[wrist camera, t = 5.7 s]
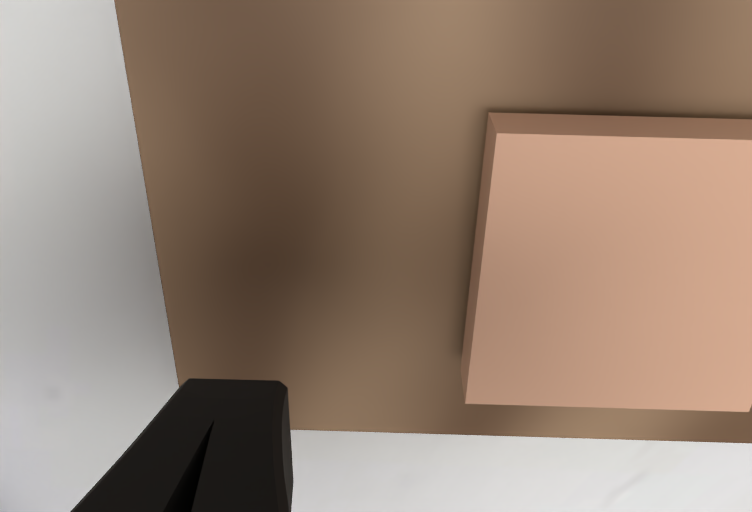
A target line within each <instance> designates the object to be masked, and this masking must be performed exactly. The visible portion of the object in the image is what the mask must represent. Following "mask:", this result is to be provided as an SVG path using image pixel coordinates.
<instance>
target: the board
mask: <svg viewBox="0 0 752 512" xmlns="http://www.w3.org/2000/svg"><path fill="white" fill-rule="evenodd" d="M114 1H115V7H116V13H117V19H118V25H119V31H120V37H121V43H122V49H123V55H124V61H125V67H126V73H127V79H128V85H129V91H130V97H131V103H132V109H133V115H134V121H135V127H136V133H137V139H138V145H139V151H140V157H141V163H142V169H143V175H144V181H145V187H146V193H147V199H148V205H149V211H150V217H151V223H152V229H153V235H154V241H155V247H156V253H157V258H158V264H159V270H160V276H161V282H162V288H163V294H164V300H165V306H166V312H167V318H168V324H169V330H170V336H171V342H172V348H173V354H174V360H175V366H176V372H177V378H178V384H179V387H180V386H181V385H182V384H183V383H184V382H185V381H187V380H188V379H189V378H199V379H238V380H276V381H280V382H282V383H283V384H284V385H285V386H286V387H287V388H288V401H289V418H290V429H291V430H324V431H358V432H391V433H425V434H458V435H492V436H525V437H559V438H592V439H626V440H659V441H693V442H726V443H752V405H751V408H750V410H749V412H730V411H696V410H662V409H628V408H594V407H560V406H527V405H493V404H465V399H464V392H463V385H462V377H461V361H462V352H463V342H464V333H465V324H466V315H467V306H468V296H469V287H470V278H471V269H472V260H473V250H474V241H475V232H476V223H477V214H478V204H479V195H480V186H481V177H482V168H483V158H484V149H485V140H486V131H487V122H488V112H491V113H529V114H567V115H604V116H642V117H680V118H717V119H752V0H114Z"/></svg>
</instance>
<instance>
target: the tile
mask: <svg viewBox="0 0 752 512" xmlns="http://www.w3.org/2000/svg"><path fill="white" fill-rule="evenodd" d="M461 377H462V385H463V392H464V399H465V404H493V405H527V406H560V407H594V408H628V409H662V410H696V411H730V412H749V410H750V408H751V405H752V119H717V118H680V117H642V116H604V115H567V114H529V113H491V112H488V122H487V131H486V140H485V149H484V158H483V168H482V177H481V186H480V195H479V204H478V214H477V223H476V232H475V241H474V250H473V260H472V269H471V278H470V287H469V296H468V306H467V315H466V324H465V333H464V342H463V352H462V361H461Z"/></svg>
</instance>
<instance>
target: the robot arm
mask: <svg viewBox="0 0 752 512" xmlns="http://www.w3.org/2000/svg"><path fill="white" fill-rule="evenodd" d="M292 491H293V468H292V451H291V434H290V418H289V401H288V388H287V387H286V386H285V385H284V384H283V383H282V382H280V381H276V380H238V379H199V378H189V379H188V380H187V381H185V382H184V383H183V384H182V385H181V386H180V387H179V388H178V390H177V391H176V392H175V393H174V395H173V396H172V397H171V398H170V399H169V401H168V402H167V403H166V404H165V405H164V407H163V408H162V409H161V410H160V411H159V413H158V414H157V415H156V416H155V417H154V419H153V420H152V421H151V422H150V423H149V424H148V426H147V427H146V428H145V429H144V430H143V432H142V433H141V434H140V435H139V436H138V437H137V439H136V440H135V441H134V442H133V443H132V444H131V445H130V447H129V448H128V449H127V450H126V451H125V452H124V454H123V455H122V456H121V457H120V458H119V459H118V460H117V461H116V462H115V464H114V465H113V466H112V467H111V468H110V469H109V470H108V471H107V472H106V473H105V475H104V476H103V477H102V478H101V479H100V480H99V481H98V482H97V483H96V484H95V486H94V487H93V488H92V489H91V490H90V491H89V492H88V493H87V494H86V495H85V497H84V498H83V499H82V500H81V501H80V502H79V503H78V504H77V505H76V506H75V507H74V508H73V509H72V510H71V512H291V504H292Z"/></svg>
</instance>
